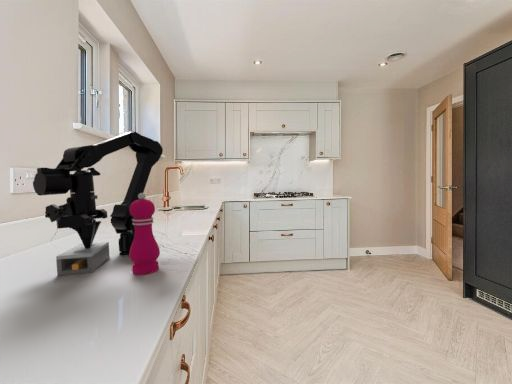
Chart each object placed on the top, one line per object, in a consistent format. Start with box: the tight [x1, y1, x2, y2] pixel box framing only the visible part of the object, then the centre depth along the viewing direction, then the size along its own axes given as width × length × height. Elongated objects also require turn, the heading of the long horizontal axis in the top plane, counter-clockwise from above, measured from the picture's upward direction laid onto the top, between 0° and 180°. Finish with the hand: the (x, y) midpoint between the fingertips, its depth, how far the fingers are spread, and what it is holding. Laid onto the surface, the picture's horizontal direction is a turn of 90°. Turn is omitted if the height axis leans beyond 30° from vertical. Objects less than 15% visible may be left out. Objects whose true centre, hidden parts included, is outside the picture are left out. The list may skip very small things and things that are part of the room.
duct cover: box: [55, 241, 110, 260], centre depth 76 cm, size 8×14×1 cm, turn 12°
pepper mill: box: [128, 193, 161, 276], centre depth 70 cm, size 7×7×20 cm
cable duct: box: [55, 245, 111, 276], centre depth 77 cm, size 8×14×4 cm, turn 12°
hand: (88, 248), depth 76 cm, fingers closed, pressing on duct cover
